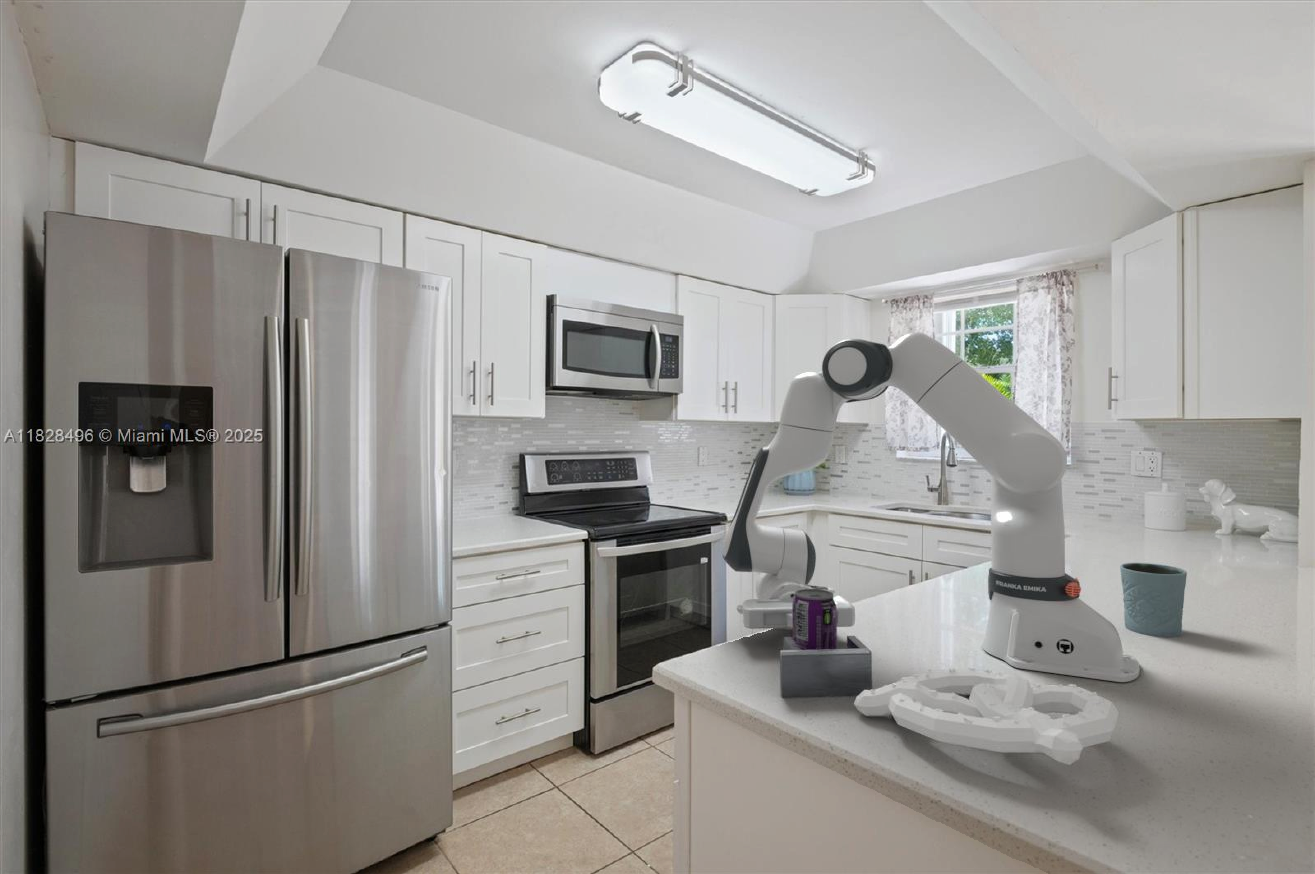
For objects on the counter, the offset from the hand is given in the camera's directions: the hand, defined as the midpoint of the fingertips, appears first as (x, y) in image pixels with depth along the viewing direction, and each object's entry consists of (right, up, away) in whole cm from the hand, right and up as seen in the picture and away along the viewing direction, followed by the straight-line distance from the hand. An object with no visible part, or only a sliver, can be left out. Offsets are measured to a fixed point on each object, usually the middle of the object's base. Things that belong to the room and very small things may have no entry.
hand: (807, 626), depth 108 cm
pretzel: (+16, -6, -28) cm, 33 cm away
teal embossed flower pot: (+69, -5, +13) cm, 71 cm away
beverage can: (0, -6, -3) cm, 7 cm away
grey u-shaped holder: (-1, -6, -11) cm, 13 cm away
